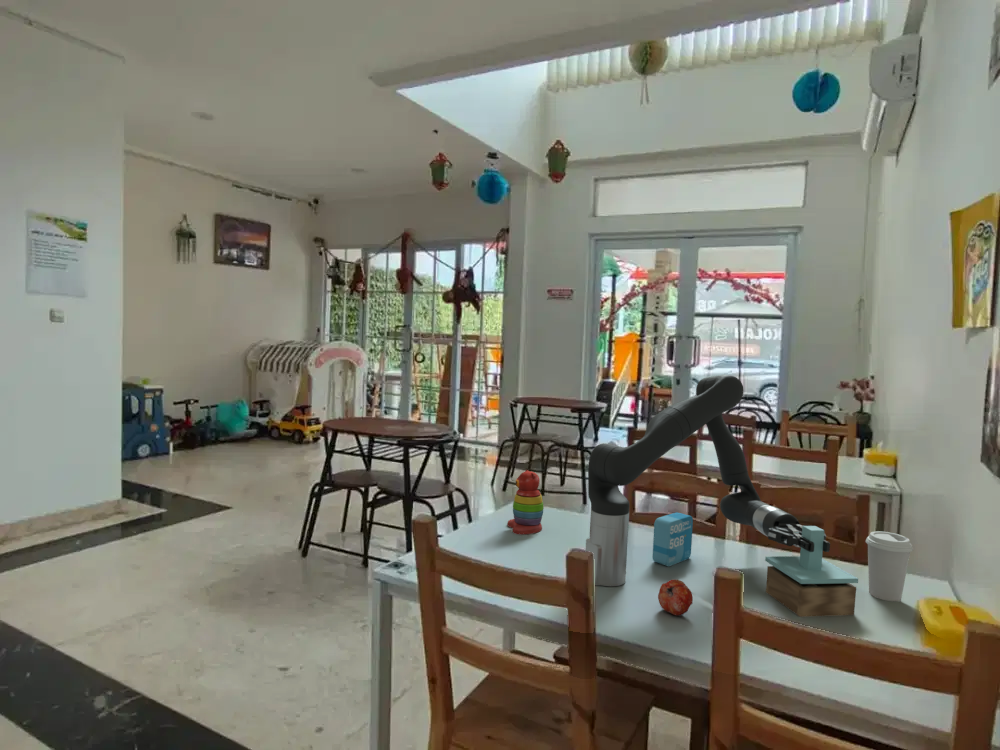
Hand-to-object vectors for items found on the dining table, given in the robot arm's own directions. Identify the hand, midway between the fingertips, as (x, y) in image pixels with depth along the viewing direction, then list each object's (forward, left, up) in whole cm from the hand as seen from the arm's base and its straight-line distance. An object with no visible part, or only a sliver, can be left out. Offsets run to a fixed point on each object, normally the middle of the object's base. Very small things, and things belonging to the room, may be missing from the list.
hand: (820, 547), depth 140 cm
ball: (+3, +4, -14) cm, 15 cm away
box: (+1, +3, -15) cm, 15 cm away
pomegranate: (-31, +8, -15) cm, 36 cm away
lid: (0, +3, -7) cm, 8 cm away
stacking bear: (-42, +70, -15) cm, 83 cm away
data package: (-13, +36, -15) cm, 41 cm away
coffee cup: (+23, +2, -15) cm, 27 cm away
